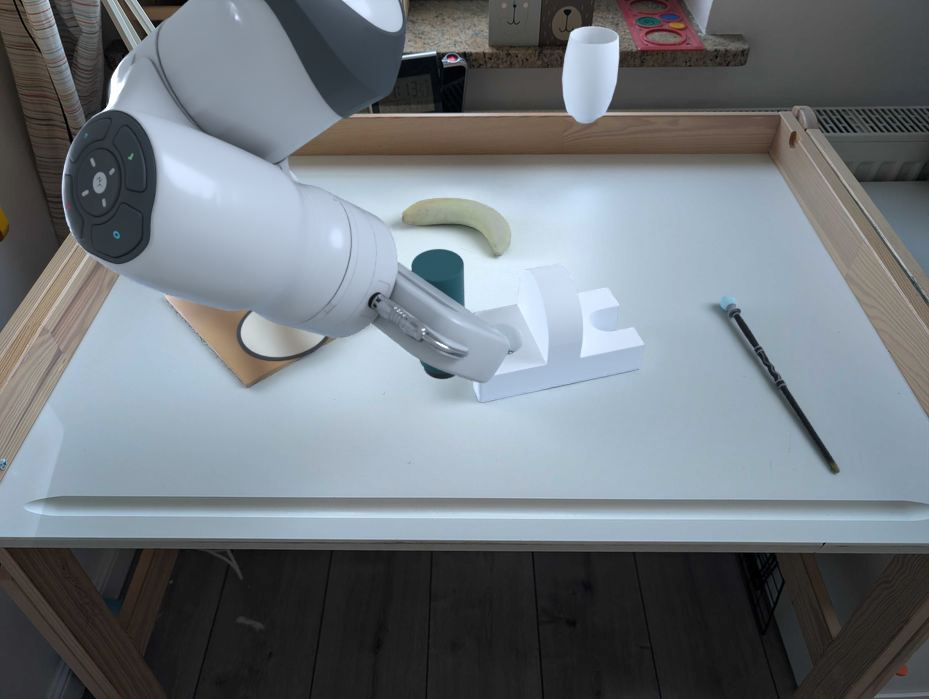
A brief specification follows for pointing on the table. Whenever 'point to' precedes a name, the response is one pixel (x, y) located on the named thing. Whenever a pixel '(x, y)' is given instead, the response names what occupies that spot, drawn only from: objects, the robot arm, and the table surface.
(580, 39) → the cup
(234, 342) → the brown flat square board
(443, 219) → the fruit
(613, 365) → the block with arch cutout
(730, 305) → the magic staff
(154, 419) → the table surface
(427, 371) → the teal cylinder
